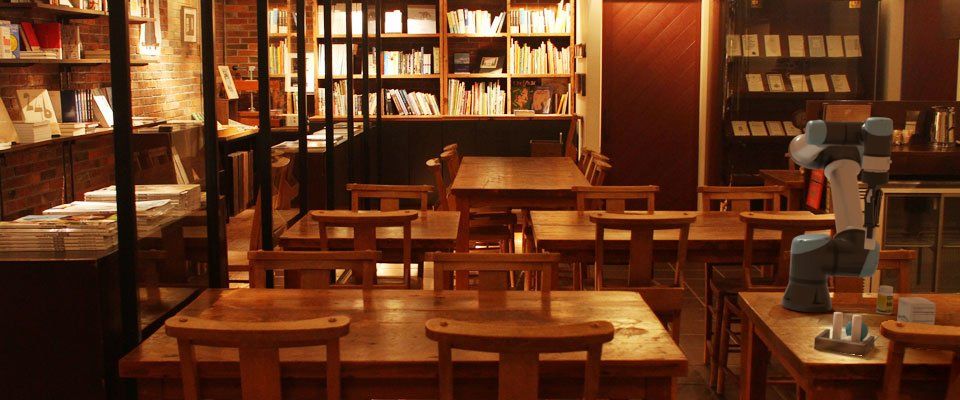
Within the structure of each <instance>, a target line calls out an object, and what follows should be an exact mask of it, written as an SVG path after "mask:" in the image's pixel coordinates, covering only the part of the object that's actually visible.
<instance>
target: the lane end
mask: <svg viewBox="0 0 960 400" xmlns="http://www.w3.org/2000/svg"><path fill="white" fill-rule="evenodd" d="M830 334H831V329H830V328H826V329H824V330H823V331H822V332H820V333H819V334H818V335H816V336H815V337H814V341H813V344H814V345H813V349H816V350H821V351H826V352H827V351H828V352H832V353H833V352H834V353H838V354H839V353H840V354H844V353H846V354H845V355H850V354H855V355H854V356H856V355H862V356H864V355H865V354H866V353H867V352H868V351H869V350H870V349H871V348H872V349H873V348H874V347H875V340H874V338H875V336H876V335H874V336H870V337H869V338H868V339H867V340H865V341H864V342H863V343H856V342H850V341H843V340H837V339H832V337H830V336H831V335H830ZM872 349H871V350H872ZM871 350H870V351H871ZM870 351H869V352H870ZM869 352H868V353H869ZM868 353H867V354H868ZM867 354H866V355H867ZM866 355H865V356H866ZM862 356H861V357H862ZM865 356H864V357H865Z"/></svg>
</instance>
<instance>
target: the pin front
mask: <svg viewBox="0 0 960 400" xmlns="http://www.w3.org/2000/svg"><path fill="white" fill-rule="evenodd" d="M842 340H843V341H850V342H851V336H847V337H845V338H844V339H842Z"/></svg>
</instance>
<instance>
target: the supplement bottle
mask: <svg viewBox="0 0 960 400" xmlns="http://www.w3.org/2000/svg"><path fill="white" fill-rule="evenodd" d="M893 292H894V287H893V286H891V285H879V291H878V292H877V298H876V313H877V314H881V315H891V314H893V309H894V308H893V306H894V297H895V296H894V293H893Z"/></svg>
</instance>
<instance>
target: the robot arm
mask: <svg viewBox="0 0 960 400" xmlns="http://www.w3.org/2000/svg"><path fill="white" fill-rule="evenodd" d="M804 132H805V133H804V134H802V133H801V134H799V135H797V136H795V137H794V138H793V139H792V140H791V141H790V143H789V145H788V155H789V157H790V160H792V161H793V162H794V163H795V164H796V165H798V166H800V167H802V168H805V169H809V170H821V171H823V174H824V176H825V177H826V178H827V179H828V180H829V182H830V183H829V185H830V190H831V199H832V206H833V213H834V221H835V222H834V223H835V229H836V233H835V234H834V235H833V238H831V236H830V234H828V233H827V234H826V233H808V234H801V235H798V236H796V237H793V239H792V241H791V245H790V246H791V247H790V250H789V251H790V252H789V253H790V257H789V258H790V263H789V277H788V284H787V285H786V288H785V291H784V294H783V295H782V300H781V306H782V307H784V308H785V309H788V310H792V311H795V312H796V311H797V312H804V313H827V312H830V311H831V310H832V306H833V303H832V302H833V301H832V298H831V294H830V290H829V287H828V279H829V277H844V278H849V277H850V278H860V279H861V278H871V277H873V276H874V275H875V274H876V271H877V270H878V265H879V262H880V261H879V260H880V243H879V241H877V240H876V238H877V228H880V226H881V225H880V224H879V223H880V216H881V210H882V202H883V196H884V191H883V189H882V186H885V185H888V184H889V179H890V172H889V170H890V168H891V167H890V165H891V164H893V163H892V162H893V161H892V160H891V156H892V155H891V153H892V146H893V145H892V144H893V143H892V142H893V134H894V121H893V120H892V119H891V118H889V117H879V116H878V117H877V116H876V117H875V116H874V117H873V116H871V117H868V118H867V119H866V120H863V121H857V120H856V121H850V120H849V121H847V120H845V121H844V120H842V121H841V120H838V121H837V120H822V119H816V120H809V121H808V122H807V123H806V125H805V131H804ZM860 172H861V180H860V181H861V183H862V184H865V185H867V189H865V191H864V192H865V194H864V196H863V203H864V205H863V207H864V208H863V207H862V201H861V195H860V190H859V189H860V188H859V181H858V175H859V174H860ZM863 209H864V210H863ZM863 211H864V212H863ZM863 215H864V216H863Z"/></svg>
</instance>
